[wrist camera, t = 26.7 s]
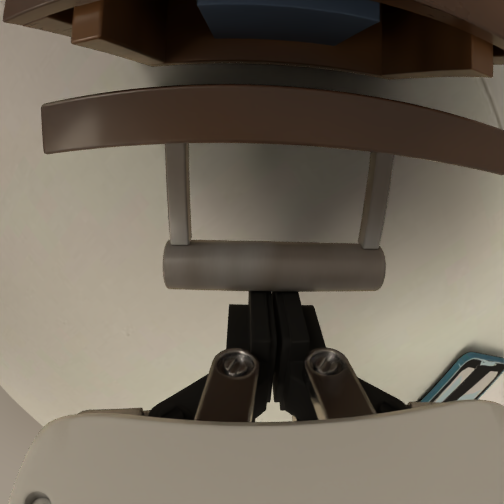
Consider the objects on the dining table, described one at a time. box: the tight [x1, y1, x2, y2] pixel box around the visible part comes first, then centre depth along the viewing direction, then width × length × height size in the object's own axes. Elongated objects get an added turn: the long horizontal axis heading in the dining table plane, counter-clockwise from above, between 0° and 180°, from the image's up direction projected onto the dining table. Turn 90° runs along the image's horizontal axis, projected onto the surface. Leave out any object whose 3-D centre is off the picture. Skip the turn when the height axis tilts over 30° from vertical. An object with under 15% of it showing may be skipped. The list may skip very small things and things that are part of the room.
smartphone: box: [420, 352, 504, 402], centre depth 23 cm, size 7×1×15 cm
